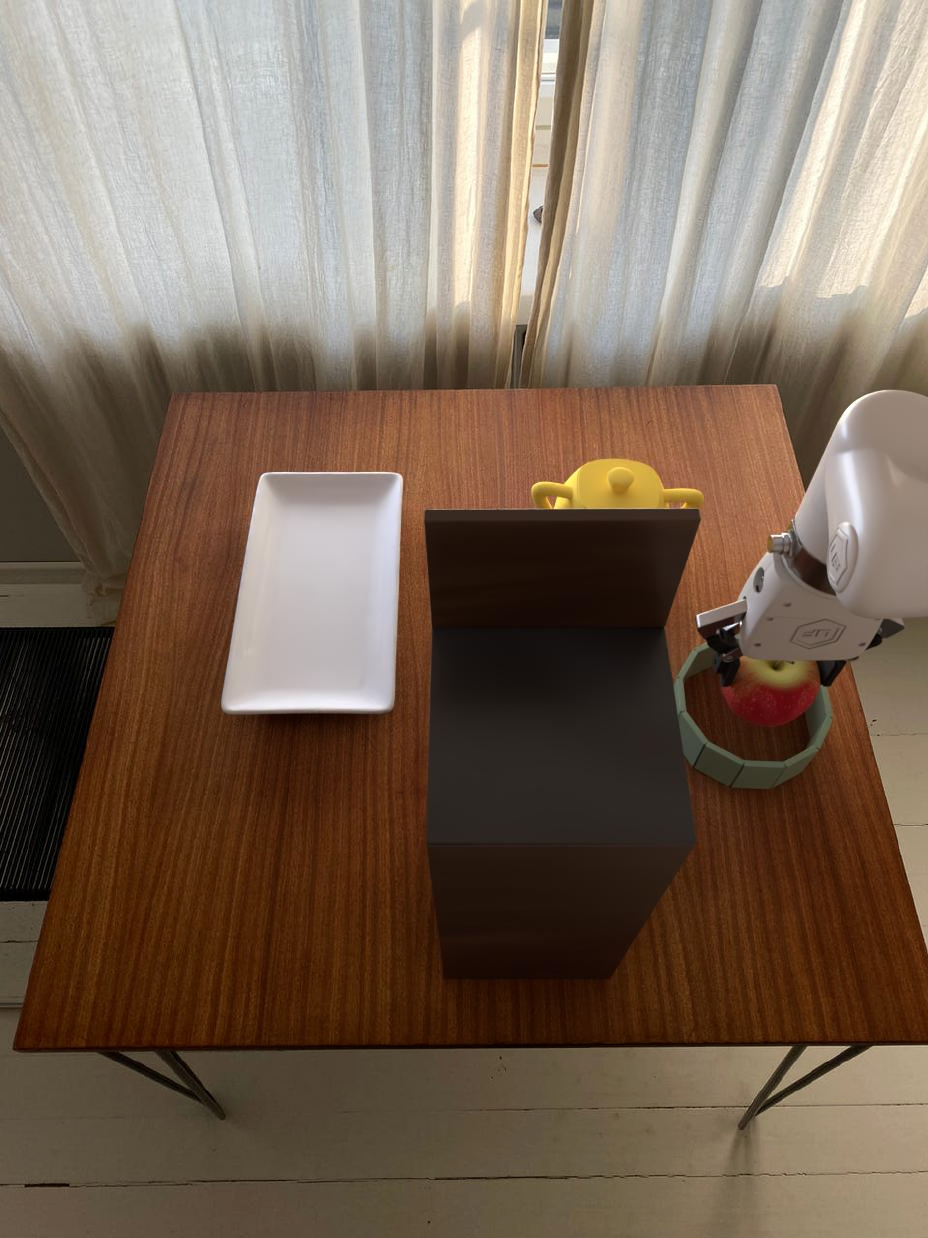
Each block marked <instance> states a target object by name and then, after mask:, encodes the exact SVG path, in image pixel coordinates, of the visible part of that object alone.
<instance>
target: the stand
mask: <svg viewBox="0 0 928 1238" xmlns="http://www.w3.org/2000/svg"><path fill="white" fill-rule="evenodd" d="M701 521H702V517H701V511H700V509H699V508H681V507H669V508H625V509H554V508H553V509H538V508H443V509H442V508H441V509H440V508H439V509H437V508H435V509H434V508H432V509H431V508H429V509H428V508H427V509H426V508H425V509H424V512H423V526H424V538H425V539H424V541H425V553H426V554H425V555H426V556H425V557H426V567H427V569H426V570H427V579H428V580H427V582H428V594H429V597H428V598H429V610H430V623H431V626H430V627H431V641H430V643H431V644H430V675H429V677H430V678H429V679H430V680H429V714H428V752H427V753H428V754H427V756H428V757H427V789H426V790H427V791H426V793H427V794H426V829H425V833H426V834H425V839H426V840H425V844H426V852H427V858H428V867H429V873H430V881H431V883H430V884H431V888H432V889H431V890H432V897H433V904H434V912H435V913H434V914H435V920H436V927H437V929H436V930H437V937H438V945H439V951H440V959H441V965H442V966H441V967H442V975H443V979H444V980H610V979H611V978H612V976H613V975H614V974H615V972H616V970H617V969H618V967H619V966H620V964H621V963H622V961H623V959H624V958H625V956H626V954H627V953H628V951H629V950H630V948H631V946H632V945H633V943H634V942H635V940H636V939H637V938H638V935H639V934H640V932H641V930H642V929H643V927H644V926H645V924H646V923H647V921H648V919H649V918H650V916H651V915H652V914H653V912H654V910H655V908H657V905H658V903H659V902H660V901H661V899H662V897H663V896H664V894H665V893H666V891H667V890H668V889H669V887H670V885H671V884H672V882H673V880H674V878H675V877H676V876H677V874H678V872H679V871H680V869H681V868H682V866H683V865H684V862H685V861H686V860H687V858H688V857H689V855H690V854H691V851H692V850H693V849H694V847H695V845H697V843H698V839H697V833H696V827H695V826H696V825H695V819H694V814H693V805H692V801H691V799H692V798H691V793H690V787H689V786H690V785H689V779H688V773H687V767H686V758H685V756H684V752H683V746H682V739H681V732H680V726H679V719H678V712H677V706H676V699H675V692H674V679H673V673H672V667H671V659H670V654H669V653H670V651H669V646H668V640H667V634H666V625H667V621H668V618H669V615H670V613H671V609H672V607H673V604H674V601H675V598H676V595H677V592H678V589H679V586H680V582H681V580H682V577H683V574H684V571H685V568H686V565H687V562H688V559H689V556H690V554H691V551H692V548H693V544H694V542H695V539H696V536H697V534H698V530H699V528H700V524H701Z"/></svg>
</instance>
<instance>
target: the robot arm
mask: <svg viewBox="0 0 928 1238" xmlns="http://www.w3.org/2000/svg"><path fill="white" fill-rule="evenodd" d="M807 487H808V488H807V490H806V492H805V493H804V496H803V498H802V500H801V502H800V505H799V507H798V509H797V512H796V513H795V515H794V517H793V518H792V519H790V522H789V523H788V526H787V528H786V530H785V531H782V532H779V534H770V535H768V538H767V541H766V548H767V552H765V553H764V555H763V557H761V559H760V560H759V562H758V563H757V564H756V566H755V567H754V568H753V570H752V572H751V573H750V575H749V577H748V578H747V580H746V582H745V584H744V586H743V587H742V590H741V591H740V594H739V595H738V598H737V600H736V601H735V602H732V603H729V604H726V605H723V606H720V607H717V608H713V609H711V610H707V611H703V612H702V613H699V614H697V615H696V616H695V617H694V619H695V620H694V621H695V626H696V631H697V633H698V634H699V635H700V636H701V638H702V639H703V640H705V642H707V645H708V646H709V647H710V648H712V649H713V650H715V651H716V652H715V654H714V656H713V660H712V665H713V666H712V669H713V673H714V674H715V675H718V676H719V681H720V686H721V688H722V687H729V685H731V684H732V682H733V679H734V677H735V675H736V673H737V671H738V669H739V667H740V657H742V656H744V655H745V656H747V657H749V658H752V659H757V660H780V661H811V660H816V662H817V665H818V669H819V673H820V684H821V685H823V686H824V687H827V688H828V687H829V688H830V687H831V686H832V685H833V683H834V682H835V680H836V679H837V677H838V676H839V674H841V672H842V671H843V669H844V668H845V666H846V665H847V664H848V663H852V662H855V661H857V660H858V659H860V656H861V655H862V654H863V653H864V652H865V651H867V650H870V649H872V648H876V647H878V646H880V645H881V644H882V643H883V639H889V638H890V637H892V636H895V635H896V634H898V633H900V632H903V630H905V629H906V626H905V622H904V620H903V619H909V618H928V396H926V395H924V394H920V393H917V392H914V391H909V390H901V389H883V390H877V391H873V392H871V393H868V394H864V395H862V396H861V397H860V398H858V399H855V401H853V402H852V403H851V404H850V405H848V407H847V408H846V409H845V410H844V411H843V413H842V415H841V416H840V418H839V419H838V421H837V423H836V425H835V427H834V430H833V432H832V434H831V436H830V439H829V441H828V443H827V445H826V447H825V450H824V452H823V454H822V456H821V459H820V460H819V463H818V465H817V468H816V470H815V472H814V474H813V476H812V478H811V480H810V483H809V485H808V486H807ZM737 634H739V643H737V641H736V637H734V636H736V635H737Z"/></svg>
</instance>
